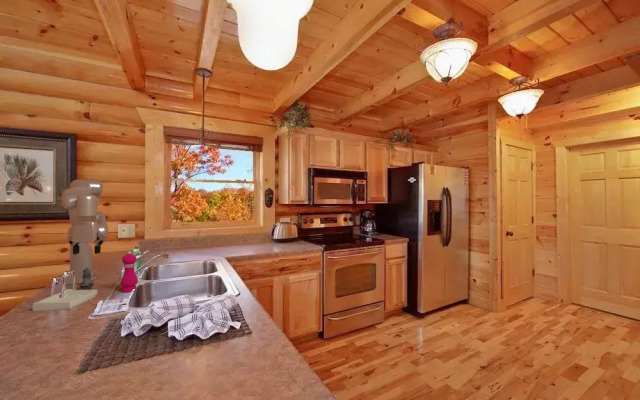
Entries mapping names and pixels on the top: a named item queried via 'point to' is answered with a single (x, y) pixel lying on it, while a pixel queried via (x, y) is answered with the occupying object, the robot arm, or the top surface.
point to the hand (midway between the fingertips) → (86, 253)
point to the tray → (65, 300)
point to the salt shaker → (86, 280)
